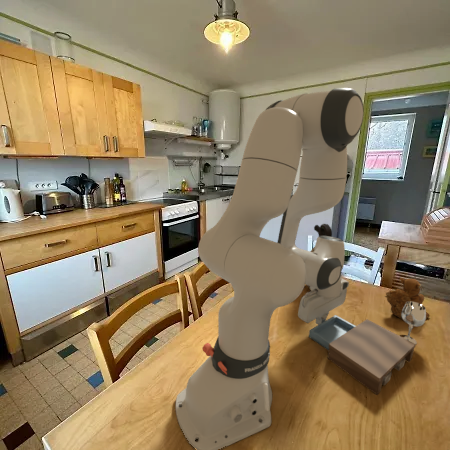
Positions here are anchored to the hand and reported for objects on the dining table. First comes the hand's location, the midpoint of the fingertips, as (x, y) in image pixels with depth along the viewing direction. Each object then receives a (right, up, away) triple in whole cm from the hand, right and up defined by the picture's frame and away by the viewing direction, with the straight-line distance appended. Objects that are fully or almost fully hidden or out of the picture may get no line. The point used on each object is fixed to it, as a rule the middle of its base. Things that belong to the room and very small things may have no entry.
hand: (320, 323), depth 80 cm
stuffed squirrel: (+34, 0, +8) cm, 35 cm away
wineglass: (+25, -3, -5) cm, 26 cm away
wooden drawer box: (+9, -5, -13) cm, 16 cm away
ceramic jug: (+9, +4, +24) cm, 26 cm away
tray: (+6, -4, -7) cm, 10 cm away
